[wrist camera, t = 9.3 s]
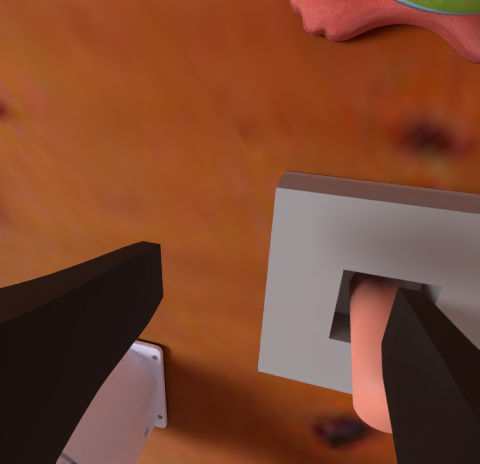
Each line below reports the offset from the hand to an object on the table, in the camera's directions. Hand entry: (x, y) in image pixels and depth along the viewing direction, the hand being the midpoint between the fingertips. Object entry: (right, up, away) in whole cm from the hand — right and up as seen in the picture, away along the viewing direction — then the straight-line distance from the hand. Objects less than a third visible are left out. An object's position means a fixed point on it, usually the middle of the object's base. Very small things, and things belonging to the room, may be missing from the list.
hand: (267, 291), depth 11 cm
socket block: (+7, -1, +10) cm, 12 cm away
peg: (+7, -1, +9) cm, 12 cm away
